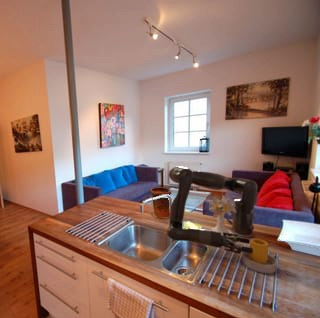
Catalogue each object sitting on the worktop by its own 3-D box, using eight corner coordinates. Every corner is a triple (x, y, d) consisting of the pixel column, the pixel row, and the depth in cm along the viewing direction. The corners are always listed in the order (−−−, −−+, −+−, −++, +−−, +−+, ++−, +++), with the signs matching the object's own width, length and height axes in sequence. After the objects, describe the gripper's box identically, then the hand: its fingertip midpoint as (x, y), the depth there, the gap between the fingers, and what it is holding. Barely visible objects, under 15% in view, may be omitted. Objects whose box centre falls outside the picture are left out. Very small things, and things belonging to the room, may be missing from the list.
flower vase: (207, 245, 111) (207, 202, 107) (208, 230, 126) (208, 192, 122) (236, 252, 103) (238, 205, 100) (234, 235, 118) (235, 194, 115)
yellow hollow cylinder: (246, 259, 96) (247, 238, 95) (260, 259, 96) (261, 238, 94) (255, 267, 91) (256, 245, 89) (270, 268, 90) (271, 245, 88)
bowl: (235, 256, 100) (235, 249, 99) (262, 257, 98) (263, 249, 98) (252, 273, 88) (253, 265, 88) (284, 274, 86) (284, 265, 86)
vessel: (150, 218, 148) (149, 192, 146) (151, 210, 161) (151, 186, 159) (171, 220, 143) (171, 193, 140) (171, 212, 156) (170, 187, 153)
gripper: (210, 237, 96) (254, 246, 87) (209, 225, 108) (248, 231, 99) (209, 252, 97) (253, 262, 88) (209, 238, 109) (248, 245, 100)
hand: (250, 245), depth 93 cm, fingers open, 8 cm apart
